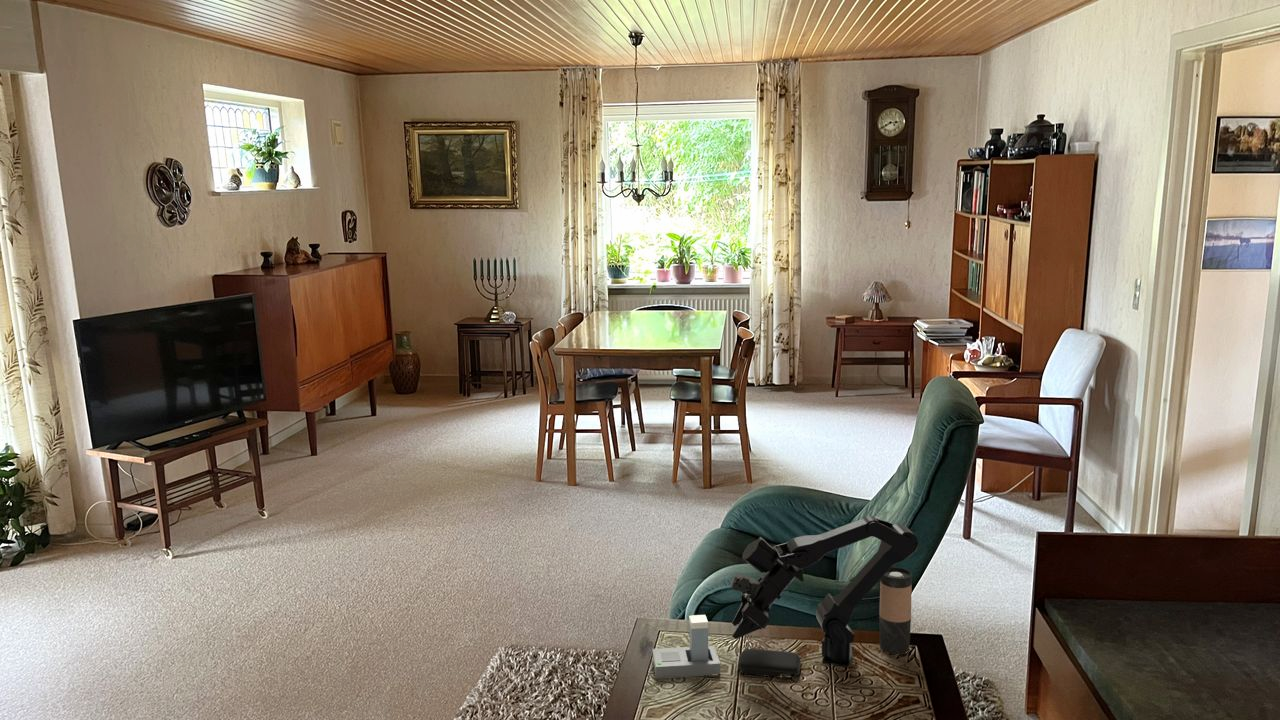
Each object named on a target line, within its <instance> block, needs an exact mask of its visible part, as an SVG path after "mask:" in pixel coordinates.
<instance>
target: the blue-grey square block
mask: <svg viewBox="0 0 1280 720" xmlns="http://www.w3.org/2000/svg"><path fill="white" fill-rule="evenodd" d="M688 619H689V629H688V630H689V647H690V661H689V662H698V661H709V660H708V646H709V621H708V619H707V616H706V614H694V615H689V616H688Z"/></svg>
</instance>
